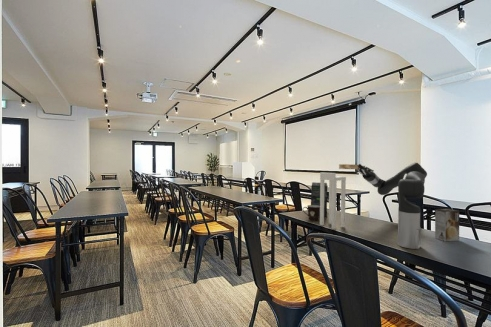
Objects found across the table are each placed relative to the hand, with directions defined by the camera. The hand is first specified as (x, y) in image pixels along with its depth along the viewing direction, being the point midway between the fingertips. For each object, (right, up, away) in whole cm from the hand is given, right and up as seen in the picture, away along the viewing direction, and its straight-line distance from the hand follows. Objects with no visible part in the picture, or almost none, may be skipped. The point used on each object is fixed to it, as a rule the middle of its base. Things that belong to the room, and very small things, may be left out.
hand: (356, 165), depth 174 cm
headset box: (-19, -39, +26) cm, 50 cm away
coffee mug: (-29, -39, +7) cm, 49 cm away
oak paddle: (-2, -3, -1) cm, 4 cm away
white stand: (-21, -39, -10) cm, 46 cm away
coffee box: (+33, -40, -35) cm, 63 cm away
